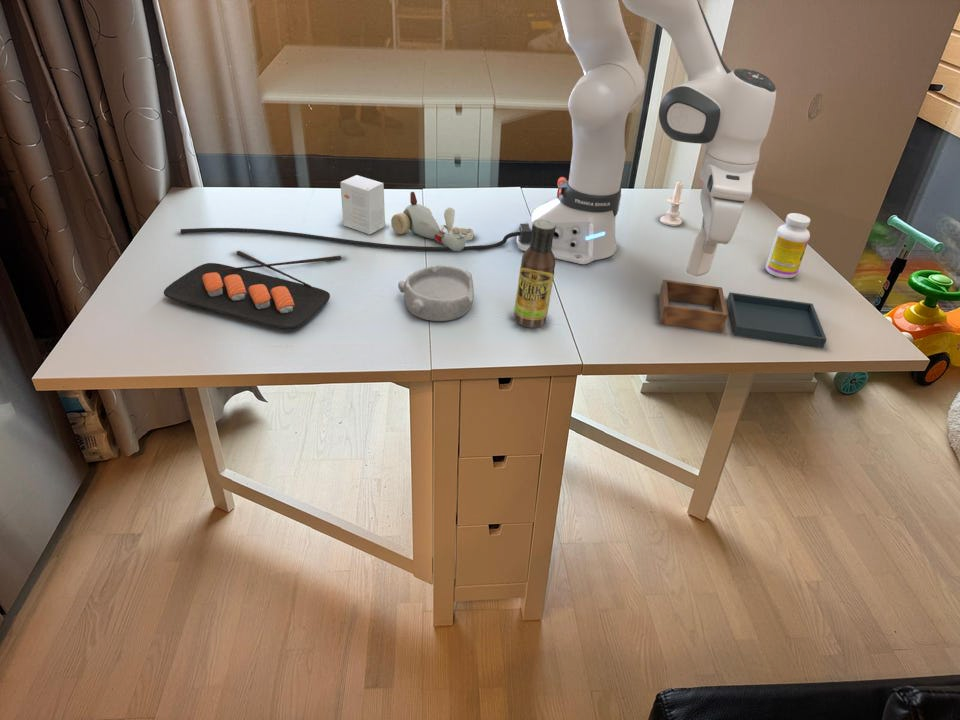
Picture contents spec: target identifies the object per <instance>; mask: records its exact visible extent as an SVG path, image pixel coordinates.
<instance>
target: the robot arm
mask: <svg viewBox="0 0 960 720" xmlns="http://www.w3.org/2000/svg"><path fill="white" fill-rule="evenodd" d="M621 2H622V3H623V5H624V6H625V8H626V9H627V10H628V11H629V12H630V13H632V14H634V15H636V16H638V17H640V18H644V19H645V20H649V21H651V22H653V23H654V24H656V25H658V26H660V27H661V28H662V29H663V30H664V31H665V32H666V33H667V34H668V36H669V37H670V38H671V40H672V42H673V45H674V47H675V49H676V52H677V54H678V56H679V59H680V61H681V65H682V66H683V68H684V71H685V73H686V76H687V80H688V81H686V82H683V83H682V84H679V85H677V86H675V87H673V88H672V89H670V90H669V91H667V93H665V95H664V96H663V97H662V100H661V101H660V104H659V109H658V120H659V123H660V126H661V129H662V130H663V132H664V133H665V134H666V136H667V137H668V138H670V139H672V140H674V141H677V142H682V143H687V144H704V145H705V146H706V149H705V152H704V156H703V160H702V164H701V167H700V170H699V175H698V176H699V179H700V180H701V181H702V182H703V183H702V186H701V190H700V196H699V201H700V206H701V210H702V211H701V212H702V220H701V227H700V230H699V232H700V231H701V230H702V229H703V228H704V224H705V228H706V233H707V238H706V241H705V242H704V246H703V251H704V253H707V254H713V252H714V249H715V246H716V245H717V246H718V244H721V245H727V244H729V243H730V241H731V240H732V238H733V236H734V234H735V232H736V229H737V226H738V225H739V222H740V219H741V216H742V214H743V210H744V207H745V202H747V203H748V202H749V201H750V200H751V197H752V195H753V181H754V179H755V175H756V170H757V167H758V165H759V161H760V157H761V156H760V153H761V147H762V144H763V142H764V140H765V138H766V137H767V135H768V132H769V129H770V126H771V122H772V118H773V115H774V111H775V105H776V100H777V88H776V87H777V86H776V85H775V83H774V82H773V80H771V78H769V77H768V76H766V75H765V74H764V73H761V72H759V71H757V70H754V69H747V68H736V69H733V70H732V71H731V70H730V68H729V67H728V66H727V65H726V63H725V62H724V59H723V56H722V55H721V52H720V49H719V47H718V44H717V42H716V40H715V37H714V35H713V32H712V30H711V28H710V25H709V22H708V20H707V17H706V15H705V12H704V10H703V8H702V6H701V3H700V1H699V0H621ZM556 4H557V8H558V12H559V17H560V20H561V25H562V29H563V33H564V36H565V40H566V43H567V44H568V46H569V47H570V48H571V49H572V50H573V52H574V54H575V56H576V58H577V61H578V62H579V65H580V66H581V69H582V72H583V75H582V76H581V77H580V78H579V79H578V81H577V82H576V83H575V85H574V87H573V88H572V91H571V93H570V95H569V98H568V103H567V104H568V113H569V116H570V118H571V131H572V133H571V135H572V150H571V160H570V168H569V174H568V180H567V178H566V177H565V176H559V178H558V179H557V183H556V185H557V193H556V196H555V197H553V198H552V199H550V200H548V201H546V202H544V203H542V204H540V205H539V206H537V207H536V208H534V210H533V212H532V214H531V215H530V217H529V220H528V222H526V223H519V227H518V231H514V232H510V233H508V234H506V235H504V237H503V239H502V240H500V241H498V242H496V243H492V244H482V245H481V244H480V245H465V247H464V248H463V249H462V250H460V251H459V252H463V251H464V252H465V251H479V250H489V249H493V248H497V247H501V246H503V245H505V244H506V243H507V241H508V240H509V239H510V238H514V237H516V240H515V242H516V243H515V244H516V246H517V248H518V249H519V250H520V251H523V252H526V250H527V249H528V248H529V247H530V243H531V238H532V225H533V222H534V221H535V220H538V219H546V220H550V221H552V222H554V223H555V225H556V229H555V233H554V235H553V241H552V249H551V250H552V252H553V254H554V257H555V260H556V259H557V260H560V261H565V262H569V263H570V262H571V263H575V264H579V265H587V264H589V263H592V262H594V261H599V260H604V259H608V258H610V257H612V256H613V255H614V254H615V253H616V252H617V242H616V220H617V215H618V212H619V209H620V204H621V199H622V187H621V184H622V178H623V173H624V167H625V162H626V157H627V150H626V147H625V146H626V145H625V143H626V142H625V141H626V139H625V138H626V135H625V134H626V124H627V119H628V116H629V114H630V111H632V110H633V109H634V108H635V107H636V106H637V105H638V104H639V102H640V101H641V99H642V98H643V97H642V96H643V94H644V90H645V85H646V76H645V72H644V70H643V67H642V66H641V65H640V64H639V62H638V59H637V56H636V53H635V50H634V48H633V45H632V43H631V40H630V38H629V37H630V36H628V35H629V34H628V32H627V30H626V27H625V24H624V20H623V16H622V12H621V11H622V10H621V6H620V2H619V0H556ZM198 233H245V234H261V235H262V234H263V235H274V236H275V235H276V236H284V237H292V238H293V237H294V238H303V239H309V240H317V241H324V242H331V243H340V244H347V245H354V246H362V247H371V248H379V249H380V248H381V249H390V250H401V251H403V250H404V251H419V252H420V251H421V252H425V251H426V252H454V251H453V250H451V249H450V248H449V247H446V246H423V245H422V246H421V245H420V246H419V245H403V244H392V243H391V244H389V243H379V242H371V241H362V240H355V239H348V238H347V239H346V238H339V237H333V236H332V237H331V236H324V235H319V234H318V235H317V234H312V233H311V234H310V233H303V232H292V231H286V230H285V231H284V230H275V229H264V228H263V229H260V228H248V227H247V228H246V227H199V228H198V227H197V228H196V227H195V228H180V234H198ZM717 243H718V244H717Z"/></svg>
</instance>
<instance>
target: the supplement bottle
mask: <svg viewBox="0 0 960 720" xmlns="http://www.w3.org/2000/svg"><path fill="white" fill-rule="evenodd" d="M810 224H811V218H810V217H809V216H807V215H804V214H801V213H798V212H790V213H788V214H787V215H786V218H785V223H784V224H781V225H779V226H778V228H777V230H776V233H775V236H774V239H773V242H772V245H771V248H770V251H769V255H768V258H767V261H766V264H765V270H766V271H767V272H768V273H769V274H770V275H772V276H774V277H776V278H782V279H792V278H794V277H796V276H797V275H798V272H799V269H800V266H801V264H802V261H803V258H804V255H805V252H806V248H807V247H808V243H809V240H810V237H811V232H810V230H808V229H807V228H808V227H809V226H810Z"/></svg>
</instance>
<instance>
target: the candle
mask: <svg viewBox="0 0 960 720" xmlns="http://www.w3.org/2000/svg"><path fill="white" fill-rule="evenodd" d="M682 190H683V183H682V182H681V181H677V182H676V183H675V187H674V192H673V196H672V197H669V198H667V202H668V203H669V204H670V205H669V207H668V208H669V209H667V210H666V212H665V215H661V216H660V219H659V220H660V222H661V223H662V224H664V225H666V226H669V227H679V226H680V225H682V223H683V220H682V218H680V217H679V216H680V211H679V209H680V206H681V205H683V204H684V200H683V199H681V197H682V196H681V195H682Z"/></svg>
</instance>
